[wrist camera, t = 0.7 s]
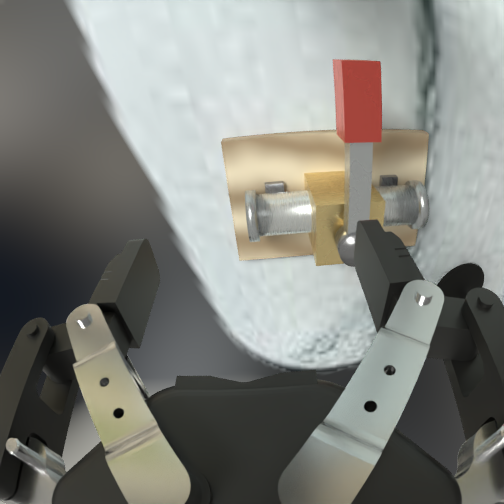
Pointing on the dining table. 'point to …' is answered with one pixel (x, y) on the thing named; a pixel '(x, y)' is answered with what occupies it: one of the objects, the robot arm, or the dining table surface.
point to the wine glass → (461, 280)
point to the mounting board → (309, 161)
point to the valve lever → (357, 141)
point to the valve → (330, 210)
